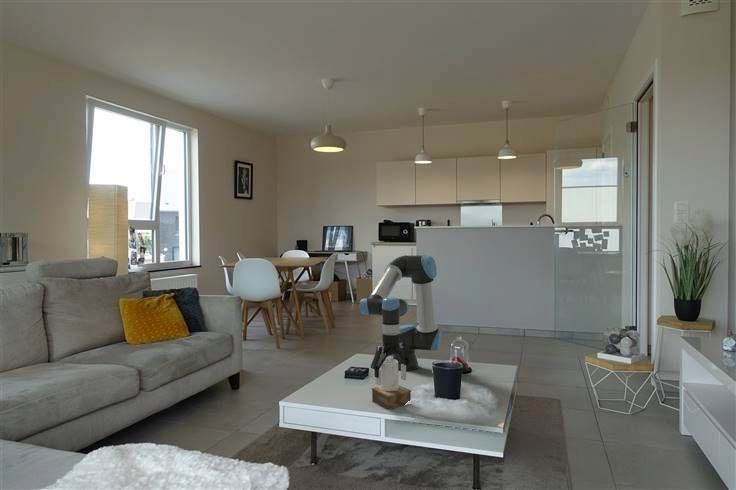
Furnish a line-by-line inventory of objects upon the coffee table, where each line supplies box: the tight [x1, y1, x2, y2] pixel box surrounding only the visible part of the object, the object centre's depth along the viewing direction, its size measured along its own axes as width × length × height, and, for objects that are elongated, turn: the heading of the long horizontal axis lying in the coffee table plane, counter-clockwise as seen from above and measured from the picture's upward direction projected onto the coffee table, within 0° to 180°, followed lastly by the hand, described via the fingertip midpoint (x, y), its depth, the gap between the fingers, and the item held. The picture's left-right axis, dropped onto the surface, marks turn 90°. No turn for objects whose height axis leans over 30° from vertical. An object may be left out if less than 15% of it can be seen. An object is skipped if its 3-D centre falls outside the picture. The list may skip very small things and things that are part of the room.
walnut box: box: [371, 384, 412, 411], centre depth 210 cm, size 12×12×6 cm
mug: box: [379, 358, 400, 391], centre depth 210 cm, size 12×8×12 cm
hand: (391, 382), depth 210 cm, fingers open, 13 cm apart
